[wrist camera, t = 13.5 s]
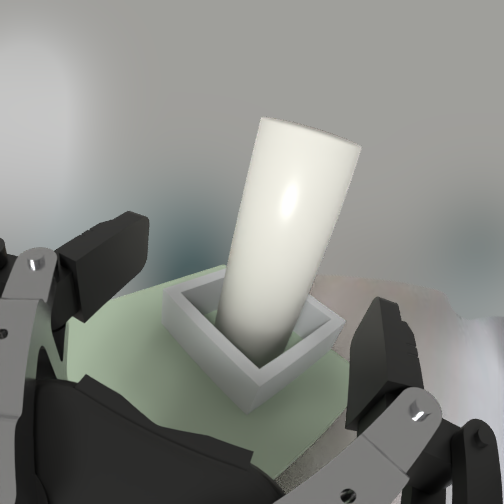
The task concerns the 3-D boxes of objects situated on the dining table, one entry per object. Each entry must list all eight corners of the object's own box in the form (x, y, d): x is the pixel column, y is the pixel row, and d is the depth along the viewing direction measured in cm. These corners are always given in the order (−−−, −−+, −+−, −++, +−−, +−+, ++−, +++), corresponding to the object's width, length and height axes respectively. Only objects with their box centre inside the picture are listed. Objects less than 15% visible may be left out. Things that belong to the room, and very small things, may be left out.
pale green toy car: (336, 419, 24) (398, 339, 19) (140, 566, 10) (111, 573, 4) (222, 321, 33) (243, 232, 28) (36, 396, 18) (-8, 298, 13)
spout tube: (297, 347, 21) (376, 151, 14) (247, 381, 17) (328, 142, 11) (249, 307, 24) (301, 123, 17) (197, 331, 20) (239, 113, 13)
